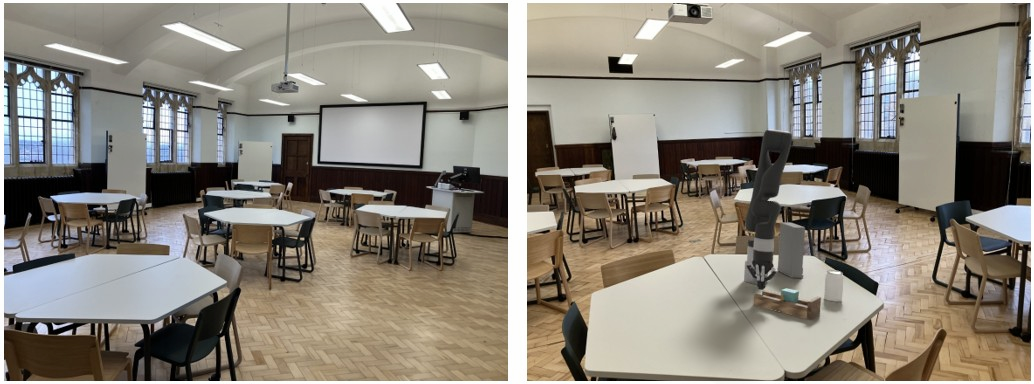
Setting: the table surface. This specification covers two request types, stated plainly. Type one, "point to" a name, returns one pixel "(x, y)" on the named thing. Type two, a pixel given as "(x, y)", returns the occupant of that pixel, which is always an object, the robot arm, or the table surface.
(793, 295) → the rider
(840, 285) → the can
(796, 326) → the table surface
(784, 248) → the tall upright block
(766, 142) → the robot arm
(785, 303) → the wooden tray
